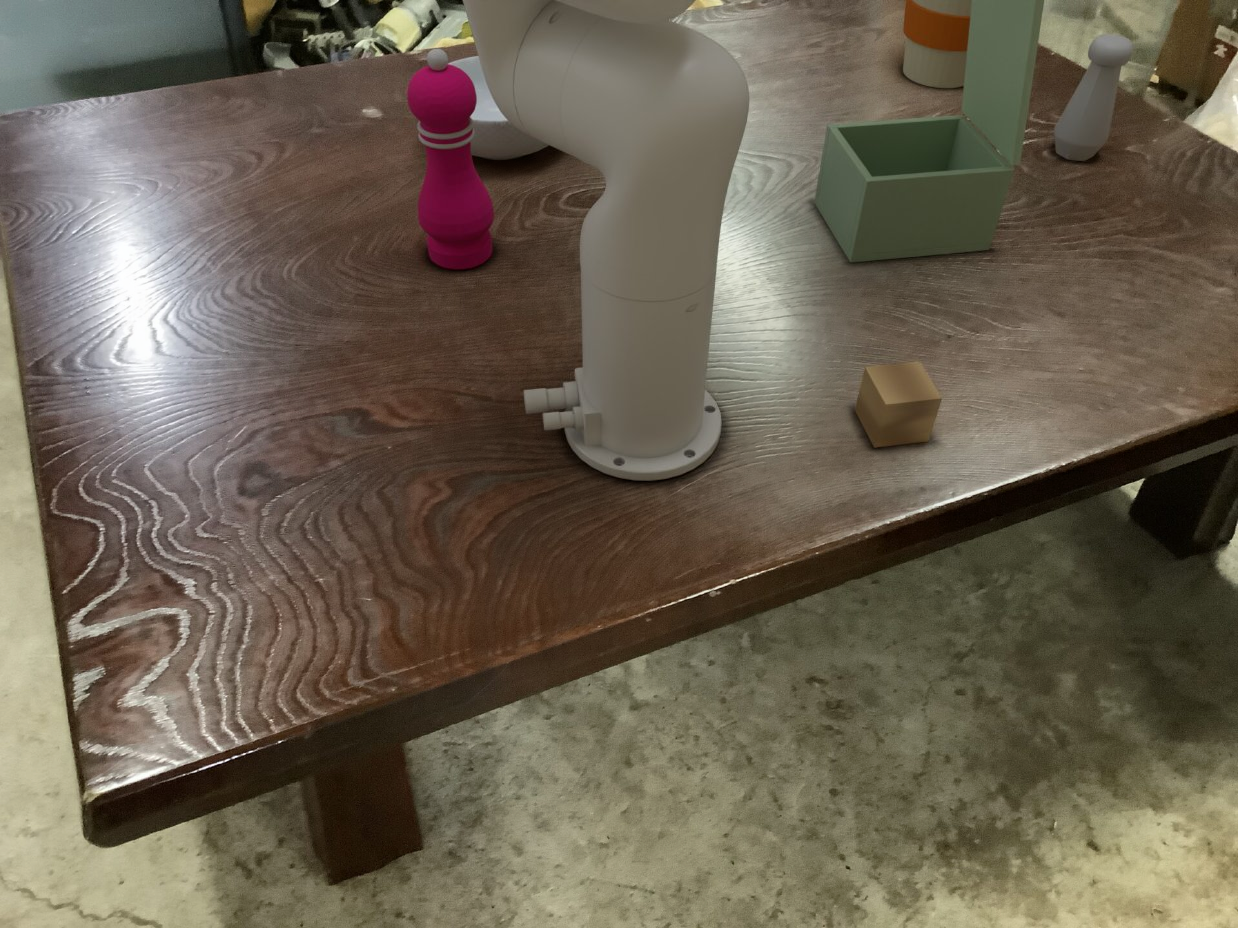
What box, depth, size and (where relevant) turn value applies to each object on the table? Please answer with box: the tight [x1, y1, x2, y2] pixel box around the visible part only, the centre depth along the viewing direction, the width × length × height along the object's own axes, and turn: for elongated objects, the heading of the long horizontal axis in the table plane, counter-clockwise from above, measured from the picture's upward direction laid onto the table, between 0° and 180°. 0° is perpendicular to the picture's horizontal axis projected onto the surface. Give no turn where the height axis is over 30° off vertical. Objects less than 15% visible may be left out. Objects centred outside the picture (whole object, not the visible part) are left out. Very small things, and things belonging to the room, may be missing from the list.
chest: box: [813, 114, 1016, 263], centre depth 98 cm, size 15×12×9 cm
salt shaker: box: [1053, 33, 1134, 162], centre depth 108 cm, size 6×6×13 cm
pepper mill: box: [406, 48, 495, 270], centre depth 90 cm, size 7×7×20 cm
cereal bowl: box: [448, 55, 549, 161], centre depth 111 cm, size 17×17×7 cm
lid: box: [961, 0, 1045, 166], centre depth 90 cm, size 16×12×1 cm
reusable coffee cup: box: [902, 0, 972, 89], centre depth 123 cm, size 13×13×15 cm
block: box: [854, 360, 943, 448], centre depth 78 cm, size 5×5×5 cm
